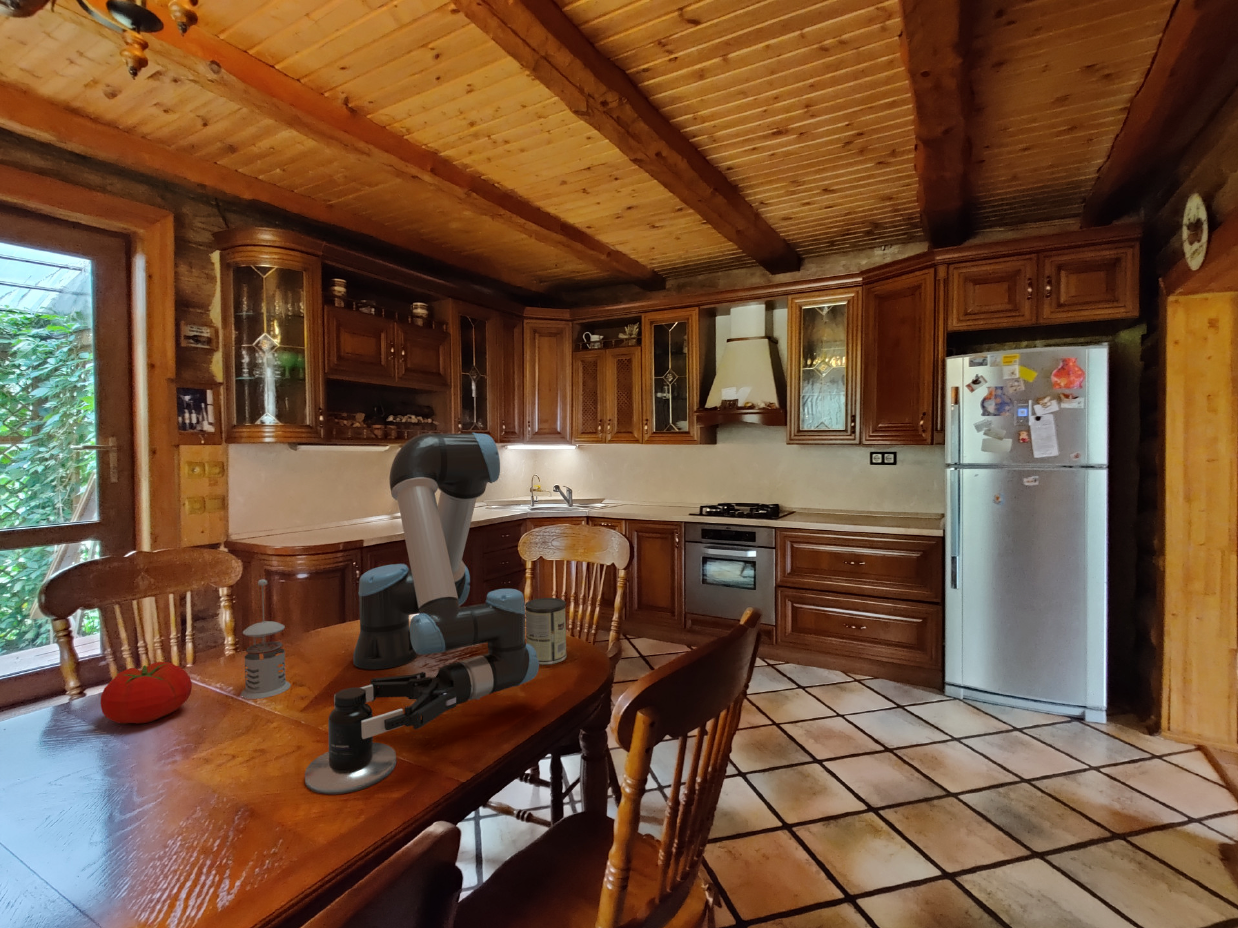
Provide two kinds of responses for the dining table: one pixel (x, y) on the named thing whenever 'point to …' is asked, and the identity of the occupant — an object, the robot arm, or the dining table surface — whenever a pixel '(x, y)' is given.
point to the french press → (264, 660)
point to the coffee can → (547, 629)
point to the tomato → (145, 693)
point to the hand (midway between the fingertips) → (347, 715)
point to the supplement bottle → (349, 731)
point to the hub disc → (335, 782)
